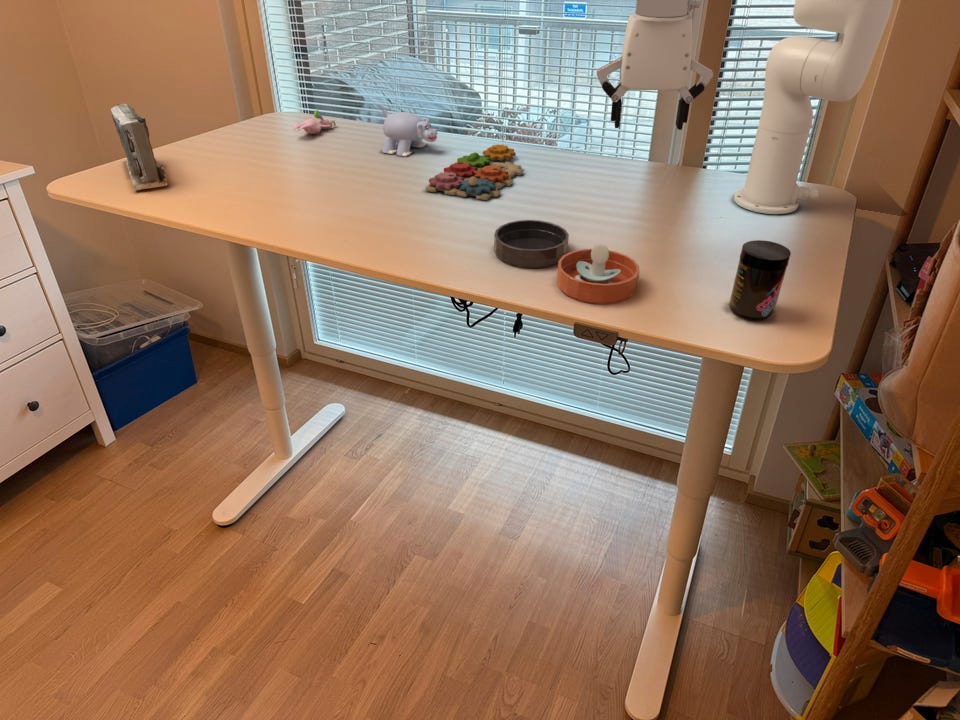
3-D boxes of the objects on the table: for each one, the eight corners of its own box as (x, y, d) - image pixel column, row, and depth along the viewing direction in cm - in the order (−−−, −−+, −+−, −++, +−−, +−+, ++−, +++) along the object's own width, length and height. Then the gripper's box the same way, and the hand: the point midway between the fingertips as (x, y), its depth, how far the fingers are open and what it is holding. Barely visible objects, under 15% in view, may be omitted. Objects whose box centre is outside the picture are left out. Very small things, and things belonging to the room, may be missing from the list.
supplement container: (746, 326, 103) (763, 263, 97) (718, 305, 108) (732, 244, 102) (783, 318, 105) (801, 255, 99) (753, 297, 110) (769, 237, 104)
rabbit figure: (322, 130, 191) (286, 135, 178) (321, 107, 188) (285, 110, 176) (340, 133, 189) (305, 138, 176) (340, 110, 186) (304, 113, 174)
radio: (126, 161, 165) (107, 96, 156) (164, 157, 167) (148, 92, 159) (125, 194, 147) (103, 123, 138) (168, 189, 150) (150, 118, 141)
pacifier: (609, 295, 110) (622, 279, 114) (613, 260, 106) (626, 245, 111) (567, 285, 113) (581, 269, 117) (569, 250, 109) (583, 236, 114)
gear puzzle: (478, 150, 172) (478, 133, 170) (540, 158, 167) (541, 141, 165) (422, 192, 148) (421, 173, 146) (492, 203, 143) (492, 183, 141)
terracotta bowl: (634, 269, 118) (637, 251, 116) (638, 307, 108) (641, 287, 106) (558, 265, 120) (560, 246, 118) (554, 301, 109) (556, 281, 107)
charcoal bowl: (568, 239, 128) (569, 222, 126) (565, 271, 118) (567, 252, 116) (499, 235, 130) (499, 218, 128) (490, 266, 119) (490, 247, 117)
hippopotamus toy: (425, 160, 166) (424, 119, 160) (372, 151, 171) (368, 112, 165) (446, 147, 174) (445, 108, 168) (394, 140, 179) (392, 101, 174)
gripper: (720, 2, 102) (700, 120, 111) (601, 2, 104) (592, 118, 114) (728, 10, 96) (706, 135, 105) (601, 10, 98) (592, 132, 107)
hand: (647, 126), depth 109 cm, fingers open, 9 cm apart
